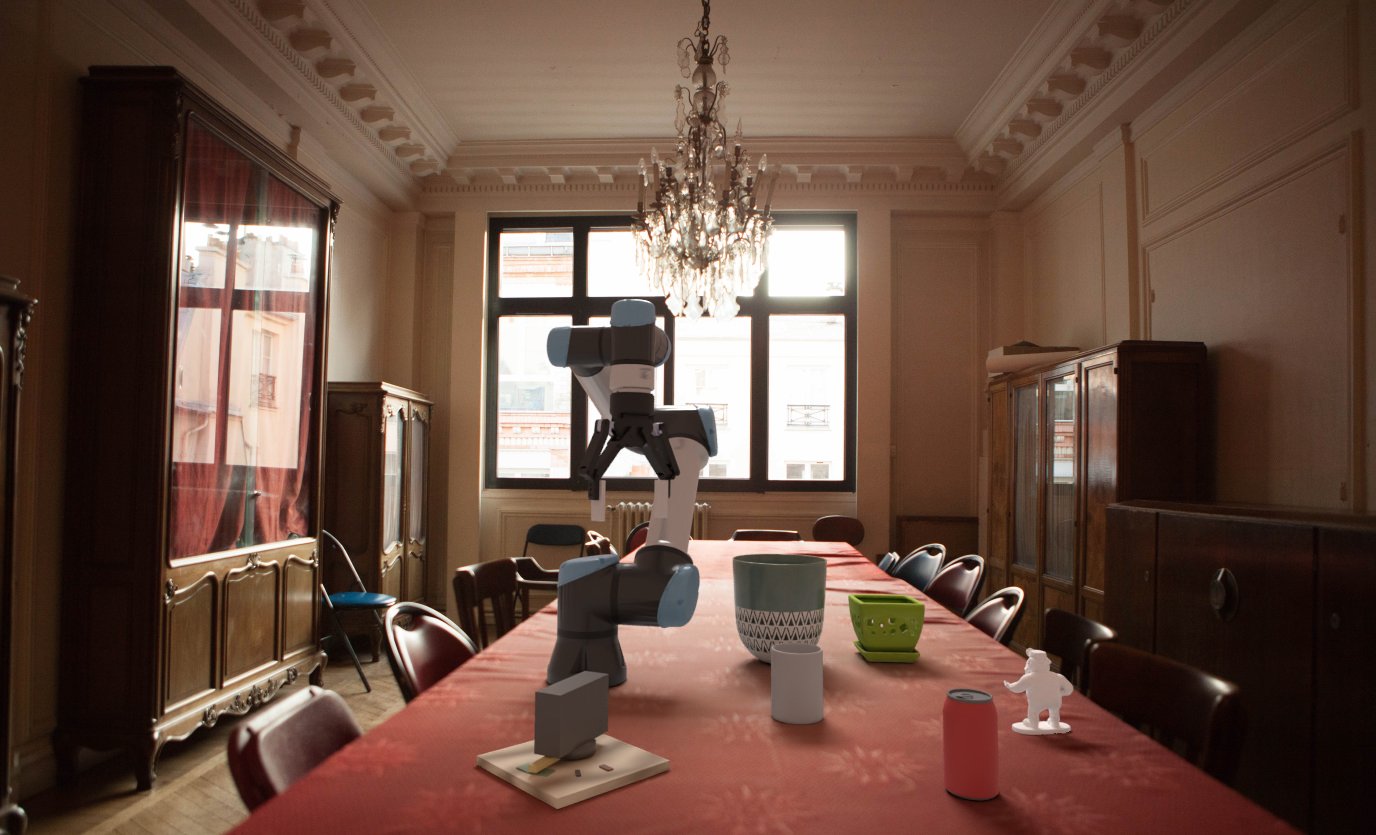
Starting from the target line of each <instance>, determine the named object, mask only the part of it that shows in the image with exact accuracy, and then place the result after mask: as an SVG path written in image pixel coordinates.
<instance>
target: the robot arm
mask: <svg viewBox="0 0 1376 835" xmlns="http://www.w3.org/2000/svg"><path fill="white" fill-rule="evenodd" d="M656 321H657V317H656V306H655V305H654V303H652V302H651V301H648V300H644V299H637V298H636V299H633V298H632V299H621V300H618V301H616V302H614V303H613V304H612V306H611V313H610V321H609V324H605V325H600V324H599V325H573V324H572V325H571V324H570V325H565V326H558V327H557V326H556V327H554V328H551V329H550V331H549V333H548V334H547V339H546V354H547V355H546V356H547V357H548V358H547V359H548V361H549V363H550V364H551V366H554V367H557V368H563V369H566V368H570V370H571V371H572V373H573V375H574V376H575V377H576V379H577V381H578V382H579V383H580V386H581V387H582V389H583V390H584V391H585V393H586V394H587V396H588V398H589V399H590V402H592V404H593V405H594V407H595V408H596V411H597V412H598V413H599V415H600V418H599V419H596V420H595V421H594V428H593V434H592V436H591V438H590V441H589V443H588V446H587V448H586V451H585V452H584V455H583V458H582V459H581V462H580V464H579V466H578V469H577V475H579V476H581V477H583V479H584V480H587V484H588V485H587V486H588V487H587V490H588V491H587V493H588V494H587V498H588V501H590V504H591V506H590V521H592V522H606V482H607V481H606V479H605V480H602V477H604V475H605V473H606V472H607V470H608V469H609V467H610V466H611V464H612V463H613V462H614V460H615V459H616V457H617V456H618V454H619V453H620V452H621V450H623V449H626V450H628V451H629V452H632V453H635V454H638V455H640V456H644V457H645V458H646V461H647V462H648V463H649V465H650V466H651V468H652V470H653V472H654V473H655V475H656V477H657V479H654V494H653V496H654V499H653V502H652V506H651V507H652V509H651V512H650V517H649V523H648V528H647V534H646V538H645V544H644V546H641V547H640V548H639V549H637V550H636V552H635V555H634V558H633V562H620V561H621V558H620V556H619V555H618V554H616V553H614V554H613V553H612V554H611V553H610V554H609V553H608V554H598V555H590V556H583V557H578V558H571V559H569V560H566V561H565V560H564V562H562V563H561V564H560V566H559V569H558V577H557V584H556V588H557V606H556V608H557V613H556V614H557V615H556V616H557V617H556V620H557V621H556V622H557V623H556V627H557V628H556V632H557V633H556V641H555V644H554V647H553V650H552V653H551V656H550V659H549V663H548V665H547V668H546V681H547V683H549V684H550V685H552V684H555V683H557V682H560V681H562V680H564V679H567V678H569V677H572V676H574V675H576V674H579V673H581V672H584V671H590V672H597V673H604V674H609V686H608V688H609V687H615V686H618V685H620V684H622V683H623V682H625V681H626V680H627V678H628V676H627V674H628V672H627V670H628V669H627V663H626V660H625V656H624V653H623V650H622V647H621V643H620V639H619V626H633V627H635V626H637V627H656V628H661V629H668V628H682V627H685V626H686V625H688V624H689V623H690V621H691V620H692V618H693V616H694V614H695V612H696V607H697V605H698V599H699V594H700V592H699V589H700V584H701V582H700V581H701V580H700V570H699V568H698V567H697V566H696V565H694V560H693V558H692V556H691V555H690V554H689V551H688V550H689V544H690V537H691V531H692V524H693V518H694V511H695V506H696V498H697V492H698V484H699V478H700V472H701V471H702V470H703V469H704V468H706V466H707V465H708V463H709V459H710V458H713V457H717V456H718V452H719V451H718V450H719V449H718V448H719V445H718V444H719V443H718V433H717V423H716V417H715V412H714V409H713V408H712V407H711V406H710V405H705V404H696V403H695V404H692V405H691V404H690V405H688V404H687V405H682V404H681V405H676V404H675V405H672V404H671V405H666V404H665V405H659V404H658V405H655V395H654V393H652V392H653V391H654V390H655V380H656V379H655V378H656V377H655V376H656V375H655V373H656V372H655V369H656V368H659V367H661V366H662V365H664V364H665V363H666V362H667V361H668V359H669V357H670V354H671V352H672V344H671V341H670V338H669V336H668V335H667V334H666V332H665V331H664V330H663V329H662V328H660V327H659V326H657V325H656ZM608 437H610V438H609V439H608ZM607 440H608V441H607ZM605 444H606V446H605Z"/></svg>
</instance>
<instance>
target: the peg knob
mask: <svg viewBox="0 0 1376 835" xmlns="http://www.w3.org/2000/svg"><path fill="white" fill-rule="evenodd" d="M608 686H609V674H604V673H597V672H590V671H584V672H581V673H579V674H576V675H574V676H572V677H569V678H567V679H564V680H562V681H560V682H557V683H555V684H550V685H548V686H545V687H543V688H540V689H538V690H535V693H534V694H535V696H534V732H533V733H534V739H533V740H534V754H538V755H543V756H544V757H542V758H540V759H538V760H537V761H535V762H533V763H531V764H529V771H530V772H534V773H537V772H539V771H541V770H542V769H544V768H546V767H548V766H549V765H551V764H553V763H555V762H556V761H558V760H560V759H566V760H573V759H581V758H586V757H589V756H591V755H593V754H594V753H595V752H596V740H595V738H597V737H599V736H600V735H602V734H605V733H607V732H609V687H608Z"/></svg>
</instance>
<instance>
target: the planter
mask: <svg viewBox="0 0 1376 835" xmlns="http://www.w3.org/2000/svg"><path fill="white" fill-rule="evenodd" d="M827 568H828V560H827V559H826V558H824V557H820V556H815V555H806V554H792V553H791V554H790V553H752V554H740V555H735V556H733V557H732V578H733V597H734V598H733V599H734V616H735V625H736V629H737V633H738V636H739V638H740V641H741V643H742V644H743V646H744V647H745V649H747V651H748V653H750V654H751V655H752V656H754V657H755V658H757V659H758V660H759V661H761V662H764V663H767V664H771V648H772V646H774V645H776V644H781V643H806V644H812V645H816V646H818V643H819V641H820V639H821V636H822V633H823V628H824V624H825V622H824V621H825V608H826V607H825V606H826V605H825V604H826V588H827V586H826V585H827V572H828V569H827Z"/></svg>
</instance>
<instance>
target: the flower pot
mask: <svg viewBox="0 0 1376 835" xmlns="http://www.w3.org/2000/svg"><path fill="white" fill-rule="evenodd" d="M848 608H849V617H850V620H851V624H852V628H853V631H854V633H855V636H856V639H857V640H853V641H852V642H853V645H854V646H855V648H856V649H857V650H858V651H859V653H860V654H861V655H862V657H864V658H865V659H866V660H867V661H868V662H871V663H878V662H879V663H908V664H912V663H914V662H916V661H917V660H918V659H919V658H920V657H921V652H919V650H918V649H916V647H917V645H918V643H919V641H920V639H921V638H920V637H921V634H922V631H923V627H924V623H925V622H924V621H925V612H926V606H925V604H924V603H923V602H922V601H920V600H918V599H916V598H914V597H912V596H909V595H906V594H875V593H874V594H871V593H869V594H868V593H867V594H866V593H863V594H861V593H855V594H854V593H850V594H848ZM881 625H882V626H881Z"/></svg>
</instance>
